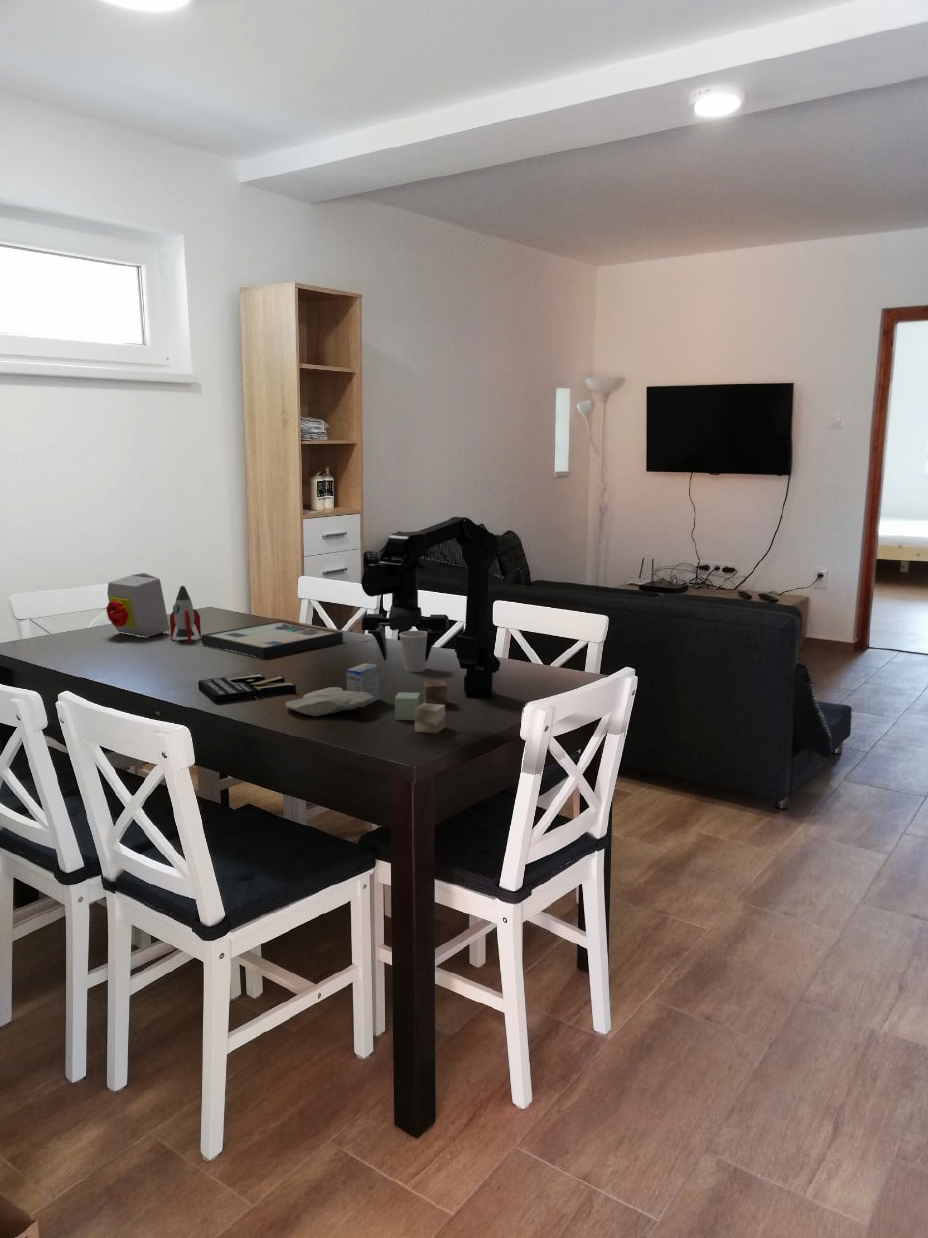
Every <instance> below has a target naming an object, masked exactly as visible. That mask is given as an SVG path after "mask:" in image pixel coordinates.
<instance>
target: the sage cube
mask: <svg viewBox="0 0 928 1238" xmlns="http://www.w3.org/2000/svg"><path fill="white" fill-rule="evenodd" d="M420 705H421V693H420V692H397V694H396V696H395V698H394V719H395V721H396V720H397V721H398V720H399V721H401V720H402V721H415V708H417V707H418V706H420Z"/></svg>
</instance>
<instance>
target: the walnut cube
mask: <svg viewBox="0 0 928 1238" xmlns="http://www.w3.org/2000/svg"><path fill="white" fill-rule="evenodd" d="M422 688H423V703H429V704H440V705H445V707H448V692H447V691H448V687H447V684H446V681H445V680H431V681H430V680H428V681H427V680H425V681H423V687H422Z"/></svg>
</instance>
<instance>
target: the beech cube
mask: <svg viewBox="0 0 928 1238" xmlns="http://www.w3.org/2000/svg"><path fill="white" fill-rule="evenodd" d="M444 728H446V706H445V705H440V704H429V703H424V702H423V703H420V706H418V707H417V708H415V720H414V732H417V733H428V734H438V733H440V732H441V731H442V730H443V729H444Z"/></svg>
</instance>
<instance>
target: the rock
mask: <svg viewBox="0 0 928 1238" xmlns="http://www.w3.org/2000/svg"><path fill="white" fill-rule="evenodd" d="M374 699H375V697H374V696H372V695H370V694H369V693H367V692H352V691H347V690H343V688H342V687H330V686H329V687H327V688H326V687H325V688H323V689H319V690H315V691H311V692H309V693H305V694H304V695H303V696H302V698H299V699H293V700H289V701H286V702H285V708H286V709H288V710H291V711H295V712H297V713H300V714H303V715H306V716H312V717H320V716H322V715H329V714H330V715H331V714H337V713H339V712H343V711H349V710H350V711H351V710H352V711H353V710H354V709H357V708H361V707H360V706H362V705H364V704H367V703H369V702H371V701H373V700H374ZM336 712H337V713H336Z"/></svg>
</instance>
